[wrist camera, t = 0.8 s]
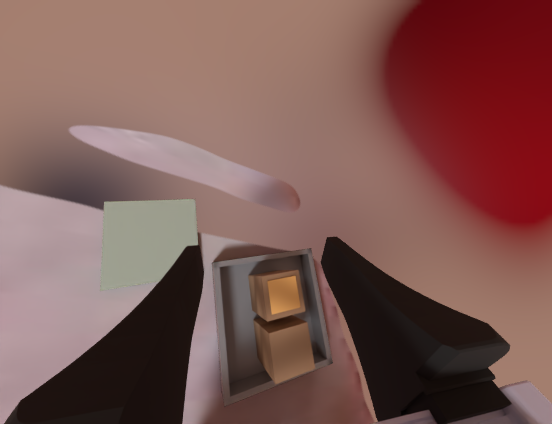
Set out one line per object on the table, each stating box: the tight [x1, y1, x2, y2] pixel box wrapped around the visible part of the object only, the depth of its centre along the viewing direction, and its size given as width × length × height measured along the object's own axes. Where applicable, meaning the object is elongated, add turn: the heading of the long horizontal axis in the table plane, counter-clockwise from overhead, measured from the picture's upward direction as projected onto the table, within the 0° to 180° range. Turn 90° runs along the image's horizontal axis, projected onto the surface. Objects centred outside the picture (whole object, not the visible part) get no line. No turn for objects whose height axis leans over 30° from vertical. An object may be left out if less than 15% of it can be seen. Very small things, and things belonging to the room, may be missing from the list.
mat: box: [100, 199, 198, 291], centre depth 22 cm, size 9×9×1 cm
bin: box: [212, 248, 333, 407], centre depth 24 cm, size 13×12×2 cm
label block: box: [248, 270, 305, 322], centre depth 22 cm, size 4×4×6 cm
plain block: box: [253, 315, 315, 384], centre depth 21 cm, size 4×4×6 cm
